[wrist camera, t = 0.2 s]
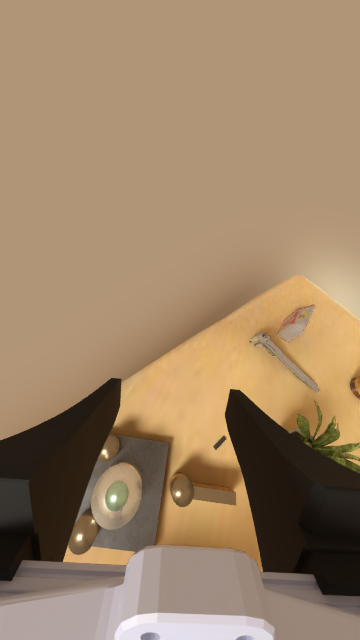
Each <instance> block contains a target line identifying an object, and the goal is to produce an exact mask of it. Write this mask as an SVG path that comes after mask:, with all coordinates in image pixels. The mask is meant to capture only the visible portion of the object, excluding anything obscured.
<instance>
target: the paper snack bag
mask: <svg viewBox="0 0 360 640" xmlns="http://www.w3.org/2000/svg"><path fill="white" fill-rule="evenodd" d="M314 307H315V306H314V304H313V305H311V306H308V307H305V308H301V309H297V310H296V311H295V312H294V313H292V314H291V315H290V316H289V317H287V318H286V319H285V320H284V322H283V324H282V326H281V328H280V330H279V331H278V333H277V335H278V336H279V337H281V338H282V339H284V340H285V341H287V342H290V341H292V340H293V339H295V338H296V337H298V336H300V335H301V334H303V333H304V330H305V328H306V325H307V323H308V322H309V320H310V317H311V315H312V312H313V310H314Z"/></svg>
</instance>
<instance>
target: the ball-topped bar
mask: <svg viewBox="0 0 360 640" xmlns="http://www.w3.org/2000/svg"><path fill="white" fill-rule="evenodd" d="M169 489H170V493H171V495H172V498H173V500H174V502H175V503H176V504H177V505H178V506H180V507H185V506H187V505H189V504H190V503H191V501H192V499H195V500H202V501H209V502H216V503H223V504H229V505H236V492H234V491H233V490H232V489H230V488H228V487H221V486H214V485H208V484H201V483H194V482H191V481H190V480H189V479H188V478H187V476H186V475H185V474H183V473H180V472H179V473H176V474H174V475H173V476H172V478H171V480H170V483H169Z"/></svg>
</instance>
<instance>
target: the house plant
mask: <svg viewBox="0 0 360 640" xmlns="http://www.w3.org/2000/svg"><path fill="white" fill-rule="evenodd" d="M313 399H314V398H313ZM314 402H315V405H316V407H317V411H318V416H319V423H318V426H317V429H316V432H315V434H314V437H312V436H311V435H310V432H309V423H308V420H307V419H306V418H304V417H303V416H301V415H299V414H298V418H297V424H298V427H299V429H295V430H291V431H288V432H289V433H291V434H292V435H293V436H295V437H296V438H298V439H299V440H301V441H302V442H304V443H305V444H307V445H308V446H310V447H312V448H313V449H315V450H316V451H318V452H320V453H322V454H323V455H325V456H327V457H329V458H330V459H332V460H334V461H336V462H338V463H340V464H341V465H343V466H345V467H347V468H350V469H352V470H354V471H356V472H358V473H360V466H358V465H356V464H354V463H353V462H351V461H349V460H347V459H345V458H348V459H355V460H359V461H360V458H359V457H356V456H353V455H350V454H346V453H344V452H351V451H354V450H356V449H358V448H360V443H357V444H346V445H342V446H325V445H328V444H330V443H332V442H334V441H336V440H337V439H338V438H339V436H340V432H339V430H338V423H337V429H334V428H335V425H336V420H335V415H334V417H333V419H332V422H331V423H330V424H329V425H328V427H327V429H326V431H325V432H324V433H323V434H322V435H320V436H319V437H318V438H317V439H316V440H315V439H314V438H315V436H316V434H317V432H318V430H319V427H320V425H321V422H322V414H321V411H320V409H319V406H318V404H317V402H316V401H315V399H314ZM323 446H325V447H323Z"/></svg>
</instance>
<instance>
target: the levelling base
mask: <svg viewBox="0 0 360 640" xmlns="http://www.w3.org/2000/svg"><path fill="white" fill-rule="evenodd" d="M225 440H226V438H225V437H224V436H223V437H222V438H221V439H220V440H219V441H218V442H217V443H216V444H215V445H214V446H213V447H214V448H215V450H216V449H217V448H218V447H219V446H220V445H221V444H222V443H223V442H224V441H225ZM168 448H169V443H166V442H160V441H154V440H148V439H141V438H135V437H129V436H123V435H117V434H110V433H109V436H108V438H107V440H106V442H105V444H104V446H103V449H102V451H101V453H100V455H99V457H98V460H97V462H96V464H95V467H94V470H93V473H92V475H91V478H90V481H89V484H88V486H87V489H86V492H85V495H84V498H83V501H82V504H81V507H80V509H79V513H78V516H77V519H76V522H75V525H74V528H73V531H72V534H71V537H70V540H69V543H68V545H69V548H70V550H71V552H72V553H74V554H76V555H80V554H83V553H85V552H86V551H88V550H89V549H90V547H91V546H94V547H102V548H110V549H118V550H126V551H135V552H137V551H139V550H141V549H143V548H145V547H146V546H155V539H156V532H157V525H158V518H159V511H160V504H161V497H162V490H163V483H164V476H165V469H166V462H167V455H168Z"/></svg>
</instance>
